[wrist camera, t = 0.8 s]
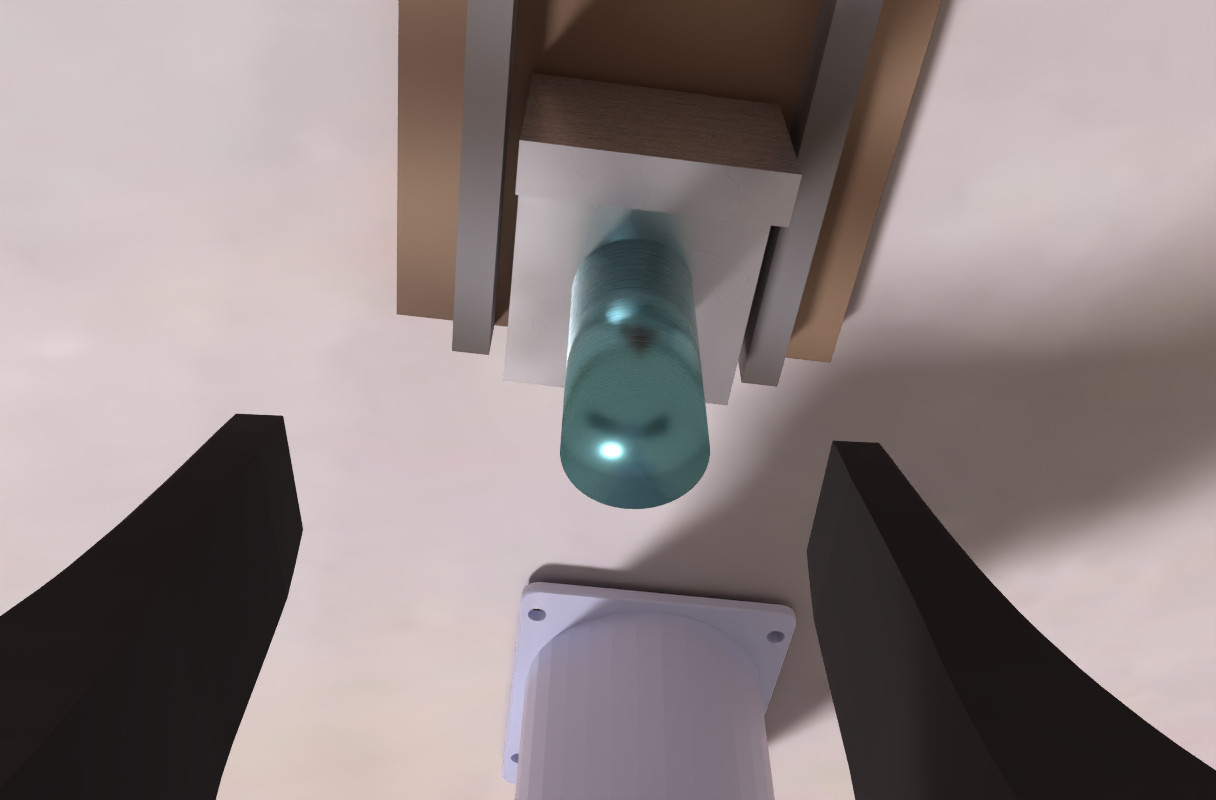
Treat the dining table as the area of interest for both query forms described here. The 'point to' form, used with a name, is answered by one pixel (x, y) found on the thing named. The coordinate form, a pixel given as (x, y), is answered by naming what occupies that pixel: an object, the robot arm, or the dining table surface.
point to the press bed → (661, 59)
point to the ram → (640, 270)
